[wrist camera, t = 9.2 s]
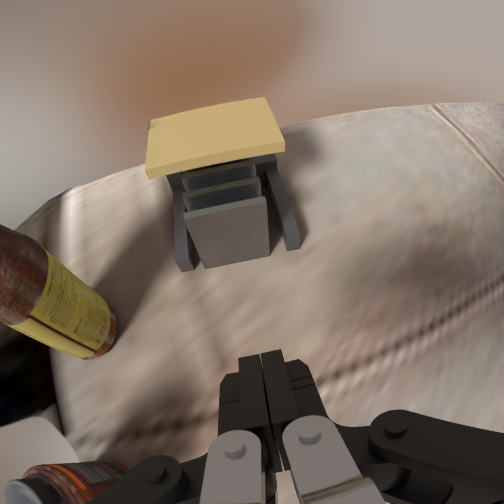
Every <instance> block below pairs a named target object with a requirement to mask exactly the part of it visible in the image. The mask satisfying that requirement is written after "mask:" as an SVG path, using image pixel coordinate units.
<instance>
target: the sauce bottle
mask: <svg viewBox="0 0 504 504" xmlns="http://www.w3.org/2000/svg"><path fill="white" fill-rule="evenodd" d="M0 320H1V321H2V322H3V323H5V324H6V325H8V326H10V327H12V328H14V329H16V330H18V331H19V332H21V333H23V334H25V335H27V336H29V337H31V338H34V339H36V340H38V341H40V342H42V343H44V344H46V345H48V346H51V347H53V348H55V349H57V350H59V351H62V352H64V353H66V354H69V355H71V356H74V357H78V358H81V359H84V360H86V359H94V358H97V357H99V356H101V355H103V354H105V353H106V352H107V351H108V350H109V349H110V347H111V346H112V344H113V341H114V339H115V338H116V334H117V319H116V315H115V313H114V311H113V309H112V307H111V306H110V305H109V304H108V303H107V302H106V301H105V300H104V299H103V298H102V297H101V296H100V295H99V294H98V293H96V292H95V291H94V290H93V289H91V288H90V287H89V286H88V285H86V284H85V283H84V282H83V281H81V280H80V279H79V278H78V277H77V276H75V275H74V274H73V273H72V272H71V271H70V270H68V269H67V268H66V267H65V266H64V265H63V264H61V263H60V262H59V261H58V260H57V259H56V258H55V257H53V256H52V255H51V254H50V253H49V252H48V251H47V250H46V249H44V248H43V247H42V246H41V245H40V244H39V243H38V242H37V241H35V240H34V239H32V238H31V237H29V236H26V235H23V234H20V233H18V232H16V231H13V230H11V229H9V228H7V227H5V226H2V225H0Z"/></svg>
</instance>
